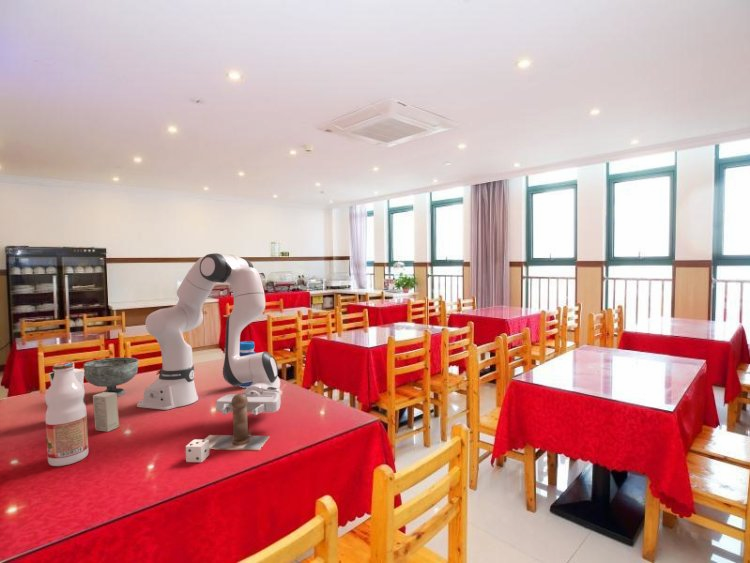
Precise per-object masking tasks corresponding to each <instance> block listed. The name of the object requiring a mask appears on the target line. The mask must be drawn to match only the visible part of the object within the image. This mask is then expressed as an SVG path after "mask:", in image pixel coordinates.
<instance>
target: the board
mask: <svg viewBox="0 0 750 563" xmlns="http://www.w3.org/2000/svg"><path fill="white" fill-rule="evenodd" d="M248 436H249V437H250V441H249V442H248V443H247V444H244V445H233V444H232V439H233V438H234V434H233V435H232V434H231V435H230V434H229V435H227V434H226V435H225V434H223V435H222V434H221V435H220V434H219V435H218V434H208V436H206V437H205V438H204V439H203V440H209V450H211V449H214V451H215V450H217V451H219V450H223V451H225V450H226V451H261V449H262V448H261V447H264V445H265V444H266V443H267V441H268V440H269V439H270V435H248Z"/></svg>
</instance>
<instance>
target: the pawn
mask: <svg viewBox="0 0 750 563" xmlns="http://www.w3.org/2000/svg"><path fill="white" fill-rule="evenodd" d="M236 394H237V395H235V396H234V397H233V398H232V401H231V404H232V406H233V412H232V424H233V425H232V427H233V428H232V429H233V432H232V433H233V435H234V438H233V439H232V444H233V445H244V444H247V443H248V442H249V441H250V437H249V436H250V435H249V432H248V431H249V428H248V412H247V403H248V399H247V397H246V396H245V395H244V394H243V393H236Z"/></svg>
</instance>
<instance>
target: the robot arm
mask: <svg viewBox="0 0 750 563" xmlns="http://www.w3.org/2000/svg"><path fill="white" fill-rule="evenodd" d="M217 283H220V284H229V285H230V286H231V289H232V293H233V294H232V296H233V307H232V310H231V313H230V314H228V316H227V318H226V324H225V341H224V342H225V343H224V361H223V366H222V376H223V379H224V381H226V382H227V383H228V385H231V386H233V387H236V386H237V387H238V386H239V385H241V384H244V383H247V382H252V381H253V383H252V385H250V386H249V387H248V388H244V390H243V391H242V394H244V395H245V396H246V397H247V399H248V403H247V413H251V415H252V416H257V415H258V414H261V413H276V412H278V411H279V410H280V409H281V408H280V407H281V403H282V400H281V398H282V397H281V389H280V387H281V379H280V377H279V376H278V375H279V368H278V363H277V361H276V358H275V357H274V356H273V355H272V354H271V353H270V352H268V351H262V352H255V354H251V355H246V356H240V355H239V353H240V352H241V351H240V342H241V333H242V331H243V330H244V329H245V328H246V327H247V326H248V325H250V324H251V323H253V322H255V321H256V320H257V319H259V318H260V317H261V316H262V315H263V313H264V312H265V309H266V295H265V291H264V285H263V282H262V278H261V276H260V273H259V271H258V270H257V269H256V268H254V265H253V263H252V262H251V261H250V260H249V259H247V258H245V257H240V256H236V255H233V254H223V253H222V254H221V253H217V252H216V253H208V254H206V255H205V256H202V257H200V258H199V259H198V260H196V262H194V264H193V265H192V267H190V270H188V271H187V274H186V275H185V276H184V278H183V280H182V281H181V283H180V285H179V286H178V288H177V290H176V296H177V297H178V302H177V303H176V304H175V305H174V306H171V307H165V308H159V309H158V310H155V311H152V312H150V314H148V315H147V316H146V319H145V329H146V331H147V333H149V335H151V336H152V337H153V338H155V339H156V340H155V341H157V343H158V346H159V347H160V352H161V360H162V361H161V363H162V368H161V369H159V370H158V371H156V372H155V373H156V376H158V377H157V378H156V380H154V381H153V382H152V383H151V384H150V385H148V387H146V388H145V390H144V392H143V399H141V400H139V401H138V402H137V404H136V407H137V408H143V409H153V410H162V411H163V410H164V411H166V410H170V409H174V408H179V407H184V406H188V405H191V404H193V403H194V404H195V402H197V401H198V400H199V395H198V394H197V393H198V392H197V390H196V384H195V366H194V364H193V362H194V360H193V348H192V346H191V345H190V344H189V343H187V341H186V340H185V338H184V334H183V333H186V332H189V331H193V330H195V329H197V328H198V327H199V326H201V325H202V323H203V320H204V314H203V311H202V309H203V306H204V304H205V302H206V301H207V299H208V297H209V295H210V294H211V292H212V291H213V289H214V288H215V286H216V284H217ZM237 394H238V393H229V394H226V395H223V396H221V397H219V398H218V399H216V401H215V410H216V411H217V412H221V415H223V416H224V415H228V414H229V413H231V412H232V413H233V406H232V404H231V401H232V398H233V397H234V396H235V395H237Z"/></svg>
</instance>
